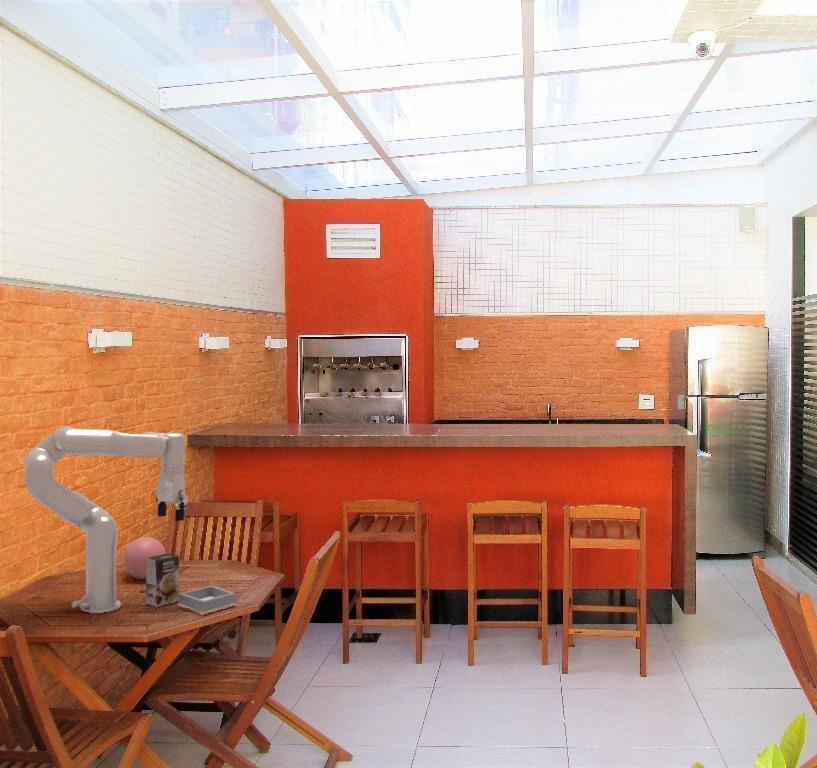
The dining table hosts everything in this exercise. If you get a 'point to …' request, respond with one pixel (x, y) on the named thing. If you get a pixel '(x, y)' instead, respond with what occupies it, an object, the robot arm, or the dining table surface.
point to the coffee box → (162, 579)
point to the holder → (206, 598)
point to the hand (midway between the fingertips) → (170, 518)
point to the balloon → (141, 555)
